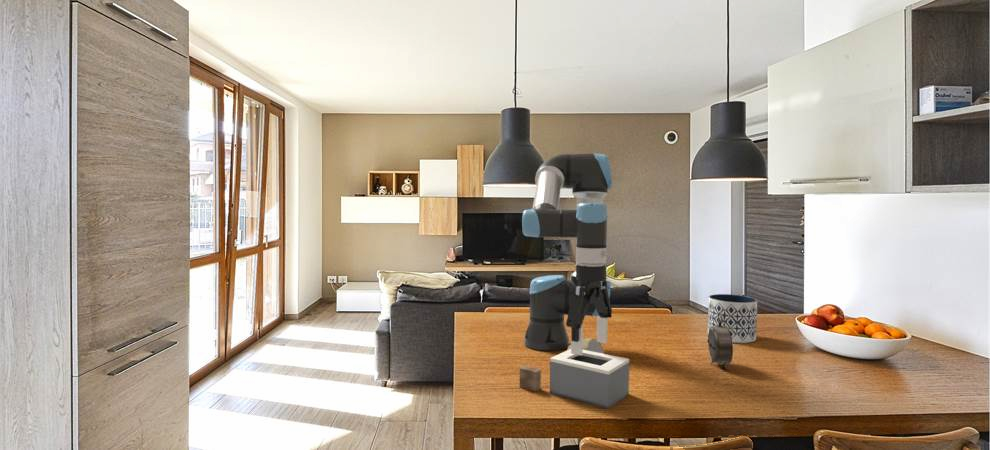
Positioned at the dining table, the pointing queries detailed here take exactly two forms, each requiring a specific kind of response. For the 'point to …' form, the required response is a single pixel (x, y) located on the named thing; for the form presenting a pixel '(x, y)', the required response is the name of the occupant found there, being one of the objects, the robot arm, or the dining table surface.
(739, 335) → the planter
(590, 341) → the coral
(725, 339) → the alarm clock
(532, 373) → the stand
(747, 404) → the dining table surface
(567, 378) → the box
